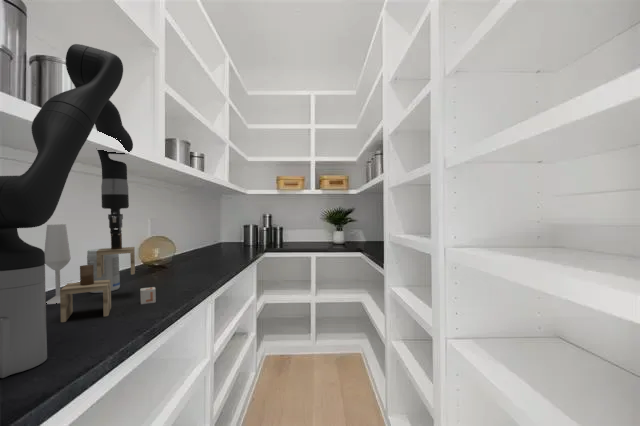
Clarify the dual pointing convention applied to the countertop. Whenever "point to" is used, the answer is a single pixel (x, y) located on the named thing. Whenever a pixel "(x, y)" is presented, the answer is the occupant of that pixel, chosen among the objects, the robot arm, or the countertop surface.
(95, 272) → the supplement tub
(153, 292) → the letter cube
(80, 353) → the countertop surface
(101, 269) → the oak cover
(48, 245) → the champagne flute
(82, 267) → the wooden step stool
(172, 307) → the countertop surface
